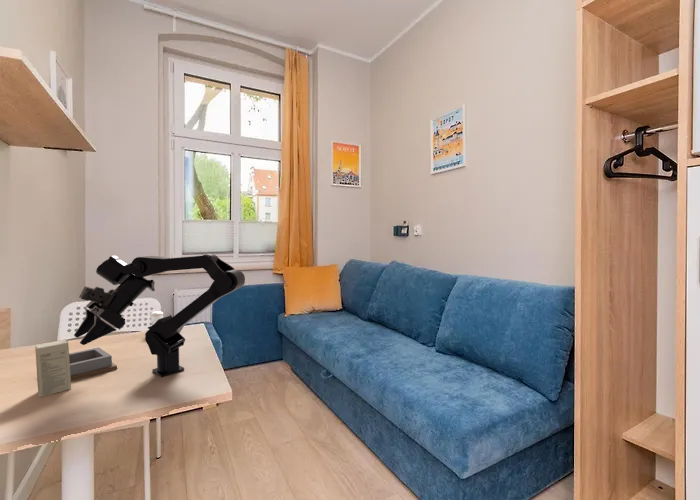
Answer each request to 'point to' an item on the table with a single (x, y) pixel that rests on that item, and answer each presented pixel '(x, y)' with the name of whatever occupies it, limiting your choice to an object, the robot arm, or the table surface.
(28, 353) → the table surface
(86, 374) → the walnut board
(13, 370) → the table surface
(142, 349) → the table surface
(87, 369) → the square frame
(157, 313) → the milkshake
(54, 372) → the skincare box
